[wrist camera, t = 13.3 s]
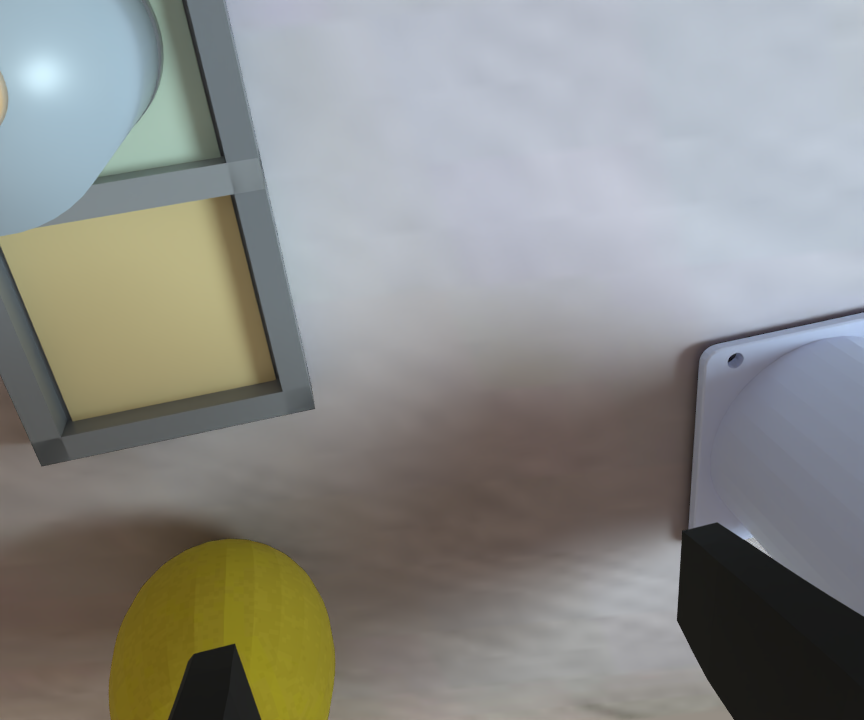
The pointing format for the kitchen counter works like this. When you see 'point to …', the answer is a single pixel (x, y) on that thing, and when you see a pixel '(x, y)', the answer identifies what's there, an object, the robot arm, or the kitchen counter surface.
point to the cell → (68, 98)
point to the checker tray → (158, 274)
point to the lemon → (226, 632)
